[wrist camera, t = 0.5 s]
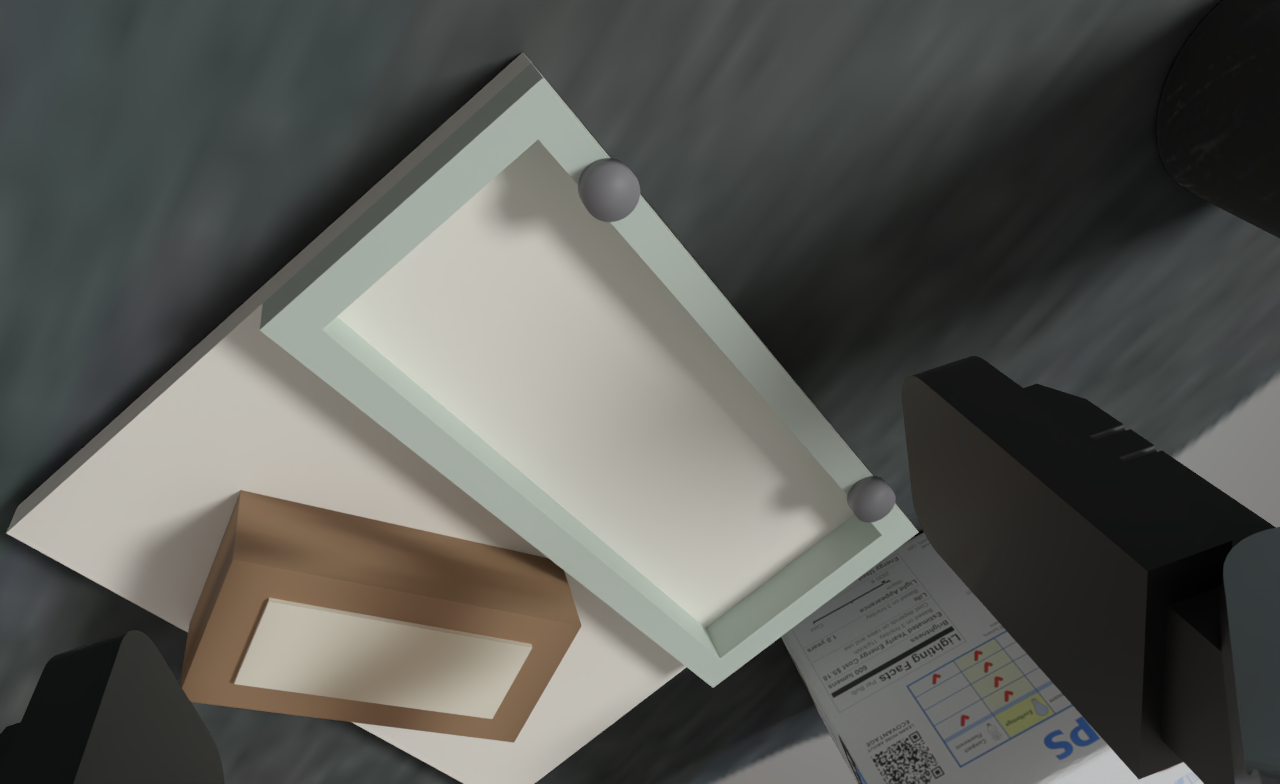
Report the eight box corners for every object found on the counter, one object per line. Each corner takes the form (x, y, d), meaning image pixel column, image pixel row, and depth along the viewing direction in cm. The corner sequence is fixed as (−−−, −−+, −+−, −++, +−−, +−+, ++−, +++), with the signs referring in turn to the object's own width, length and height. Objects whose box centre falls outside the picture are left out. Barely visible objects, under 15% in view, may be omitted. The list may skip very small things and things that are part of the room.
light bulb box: (814, 706, 41) (951, 957, 32) (762, 611, 37) (901, 865, 28) (1039, 584, 41) (1237, 802, 32) (1009, 476, 37) (1226, 689, 28)
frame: (189, 623, 29) (176, 704, 26) (241, 490, 27) (232, 563, 25) (499, 672, 33) (515, 746, 31) (561, 561, 32) (582, 629, 29)
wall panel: (17, 506, 27) (-17, 585, 24) (528, 46, 24) (554, 77, 22) (500, 779, 38) (513, 855, 35) (885, 482, 35) (932, 539, 33)
